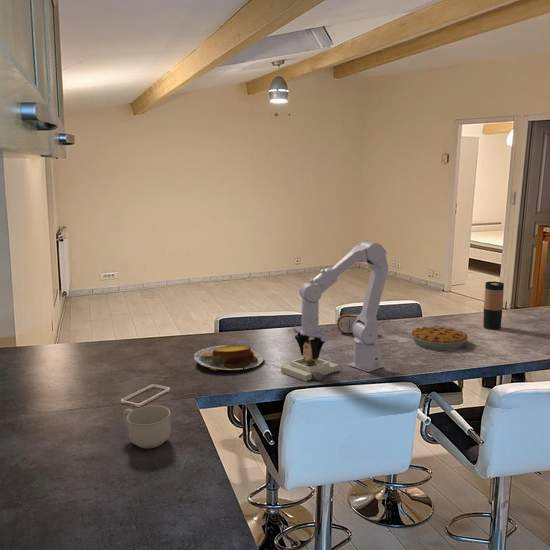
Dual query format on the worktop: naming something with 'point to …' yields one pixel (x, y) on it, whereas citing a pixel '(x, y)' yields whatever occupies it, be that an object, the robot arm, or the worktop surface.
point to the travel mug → (493, 305)
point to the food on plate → (228, 357)
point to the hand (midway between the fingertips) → (309, 356)
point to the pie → (439, 338)
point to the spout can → (308, 353)
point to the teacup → (148, 425)
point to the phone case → (144, 390)
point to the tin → (346, 322)
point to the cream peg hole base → (309, 369)
